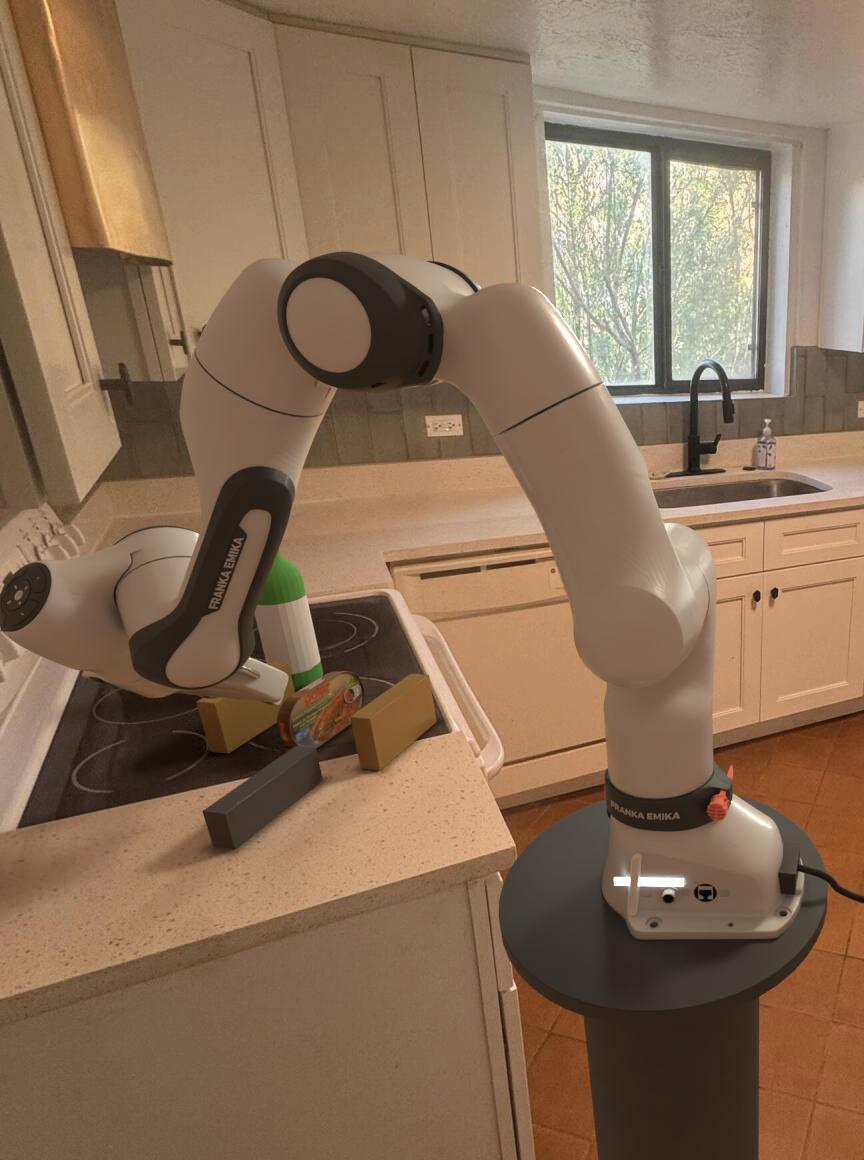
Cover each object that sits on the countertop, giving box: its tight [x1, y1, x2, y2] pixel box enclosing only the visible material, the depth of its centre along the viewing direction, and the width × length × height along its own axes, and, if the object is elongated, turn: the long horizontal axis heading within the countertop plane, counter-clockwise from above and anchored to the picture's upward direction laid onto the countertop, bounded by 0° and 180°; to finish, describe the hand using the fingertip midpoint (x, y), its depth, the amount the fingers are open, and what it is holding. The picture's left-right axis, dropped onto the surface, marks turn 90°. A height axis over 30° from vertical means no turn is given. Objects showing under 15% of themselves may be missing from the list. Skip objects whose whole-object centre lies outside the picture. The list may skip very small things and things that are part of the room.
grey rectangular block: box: [202, 746, 324, 851], centre depth 97 cm, size 3×15×5 cm, turn 169°
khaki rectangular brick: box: [350, 672, 437, 771], centre depth 112 cm, size 3×14×8 cm, turn 169°
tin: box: [276, 670, 366, 749], centre depth 115 cm, size 15×3×8 cm, turn 167°
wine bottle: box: [254, 548, 324, 692], centre depth 127 cm, size 8×8×30 cm
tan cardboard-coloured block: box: [195, 661, 296, 754], centre depth 116 cm, size 3×14×8 cm, turn 169°
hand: (245, 695), depth 100 cm, fingers open, 8 cm apart
